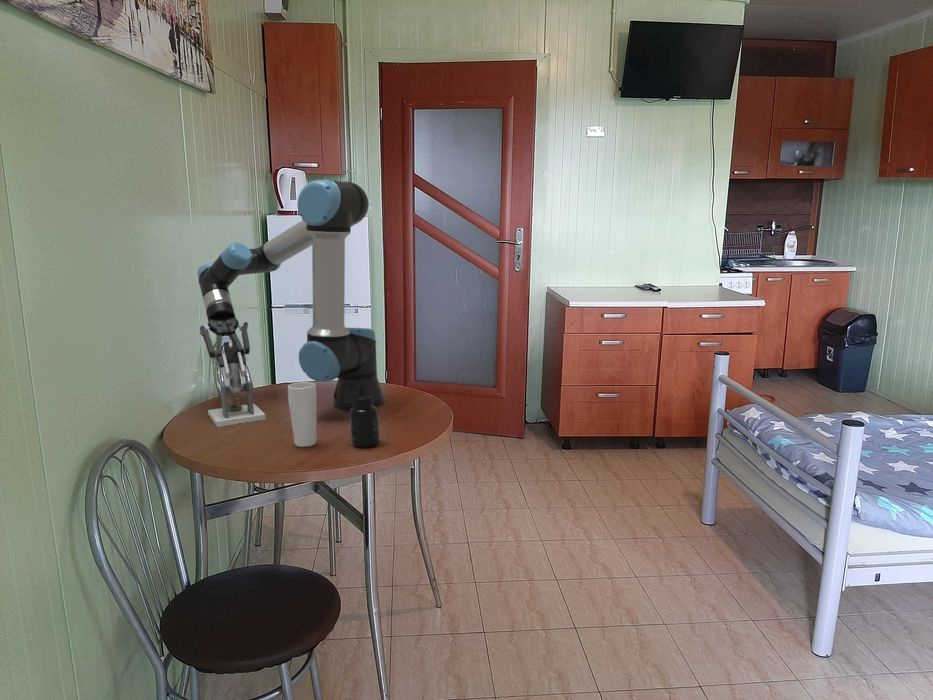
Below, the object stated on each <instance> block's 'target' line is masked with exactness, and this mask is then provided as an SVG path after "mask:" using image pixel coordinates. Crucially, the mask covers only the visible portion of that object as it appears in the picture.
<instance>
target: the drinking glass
mask: <svg viewBox="0 0 933 700" xmlns="http://www.w3.org/2000/svg"><path fill="white" fill-rule="evenodd" d="M317 397H318V394H317V384H316V383H314V382H312V381H311V382H310V381H301V382H295V383H291V384H288V386H287V399H288V400H287V401H288V408H289V413H290V420H291V421H290V422H291V428H292V432H293V439H294V440H293V443H294V445H295V447H298V448H308V447H312V446H314V445H315V444H317V420H318V419H317V414H318V411H317V410H318V398H317Z"/></svg>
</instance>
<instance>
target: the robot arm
mask: <svg viewBox="0 0 933 700" xmlns="http://www.w3.org/2000/svg"><path fill="white" fill-rule="evenodd" d="M369 205H370V203H369V198H368V195H367V193H366V191H365V190H364V188H362V187H361V186H360V185H358V184H357V183H355V182H352V181H340V180H333V179H326V178H325V179H316V180H313V181H310V182H308V183H307V184H306V185H305V186H304V187H303V188H302V189H301V191H300V193H299V194H298V198H297V211H298V212H297V213H298V214H299V217H301V221H299V222H297V223H296V224H293V225H292V226H291V227H289V228H288V229H286V230H285V231H283V232H281V233H280V234H278V235H276V236H274V237H272V238H271V239H270V240H268V241H266V242H265V243H263V244H262V245H260V246H258V247H255V248H249V247H247V245H245V244H243V243H240V242H235V241H234V242H232V243H230V244H229V245H228V246H227V247H226V248H224V249H223V251H222V252H221V253H220V254H219V256H218V257H217V258H216V259H215V261H214V262H206V263H205V264H204V265H201V266H200V267H199V268H198V270H197V277H198V284H199V288H200V291H201V296H202V299H203V302H204V303H203V304H204V308H205V313H206V318H207V321H208V322H207V325H205V326H204V325H200V326H199V334H200V335H201V336H202V337H203V340H204V344H205V347H206V350H207V353H208V356H209V358H210V359H213V358H215V359H216V360H217V363H218V367H219V368H222V369H223V371H224V375H225V376H224V377H225V379H229V373H230V372H229V368H228V364H227V360H226V356H225V353H223V343H222V342H223V339H222V337H228V338H229V339H230V341H236V342H237V350H238V357H239V370H240V378H241V377H245V374H246V369H245V366H246V363H247V358H246V355H249V354H250V351H251V350H250V349H251V345H250V340H249V339H250V338H249V334H248V327H249V326H248V325H249V323H248V322H247V321H244V322H239V320H238V319H237V317H236V314H235V311H234V307H233V303H232V297H231V294H230V291H229V287H230V286H231V285H232V284H233V282H235V280H236V279H237V278H238V277H239V276H245V275H254V274H263V273H264V274H266V273H267V274H268V273H271V272H276V271H277V270H278V269H280V267H281V265H282V264H283V263H284V262H285V261H287V260H289V259H291V258H292V257H294V256H296V255H298V254H299V253H301V252H303V251H304V250H306V249H308V248H310V247H312V248H311V249H312V251H311V252H312V255H311V257H312V258H311V259H312V270H311V271H312V272H311V273H312V326H311V327H309V329H308V330H307V331H306V333H307V334H306V342H305V343H303V345H302V346H301V348H300V349H299V352H298V362H299V366H300V368H301V369H302V371H303V372H304V373H305V374H306V376H307V377H308V378H309V379H311V380H313V381H314V382H320V383H321V382H322V383H324V382H328V381H334V380H337V382H336V385H335V388H334V392H333V396H332V403H333V404H332V405H333V407H334V408H336V409H340V410H341V409H342V410H351V409H352V408H353V407H354V406H353V397H354V396H357V395H371V396H372V397H373V404H372V405H373V406H375V407H376V408H377V407H380V406H381V404H382V405H383V404H384V403H385V396H384V392H383V389H382V387H381V384H380V382H379V379H378V369H377V344H376V343H377V340H376V334H375V331H374V330H373V329H372V328H368V327H367V328H366V327H346V326H345V292H346V291H345V287H346V286H345V274H346V272H345V270H346V266H345V263H346V256H345V255H346V254H345V253H346V252H345V251H346V247H345V246H346V245H345V244H346V243H345V242H346V238H347V237H348V236H349V235H350V234H351V230H352V229H351V227H353V226H355V225H357V224H358V223H360V222H362V220H363V219H364V218H365V217H366V216H367V213H368V211H369ZM238 328H239V331H240V332H241V338H242V343H241V341H240V339H239V337H238V334H237V332H236V330H237V329H238ZM210 332H212V333H213V334H215V336H216V350H215V348H214V345H213V341H212V339H211V335H210Z"/></svg>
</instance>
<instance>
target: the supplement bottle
mask: <svg viewBox="0 0 933 700" xmlns="http://www.w3.org/2000/svg"><path fill="white" fill-rule="evenodd" d="M372 404H373V397H372V396H371V395H357V396H354V397H353V406H354V407H353V408H352V409H351V410H350V411H349V421H350V422H349V424H350V426H349V427H350V437H351V439H350V440H351V445H352V446H353V447H355V448H358V449H367V448H373V447H376V446H377V445H379V444H380V427H379V425H380V424H379V411H378V409H377V407H375V406H373V405H372Z"/></svg>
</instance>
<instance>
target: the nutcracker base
mask: <svg viewBox="0 0 933 700" xmlns="http://www.w3.org/2000/svg"><path fill="white" fill-rule="evenodd" d="M245 383H246V387H247V391H245V392H246V396H245V397H246V404H243V405H242V404H239V403H240V399H239V396H237V395H230V396H229V397H228V396H227V395H228V394H227V392H226V386H227V385H225V384H224V383H221V382H220V383H219V387H220V388H219V389H220V397H221V398H220V399H221V408H214V409H208V410H207V415H208V416H210V417H209V419H210V420H211V421H212V422H213V424H214V425H215V426H216V427H217V428H221V427H226V426H227V427H228V426H233V425H239V423H241V424H246V422H247V423H252V422H253V423H254V422H258V421H259V422H260V421H266V419H267V418H266V413H265V412H263V410H261V409H260V408H259V407H258V405H256V404H255V403H254V397H253V385H252V384H253V383H252V382H251V381H250V380H249V379H246V380H244V384H245Z"/></svg>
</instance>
